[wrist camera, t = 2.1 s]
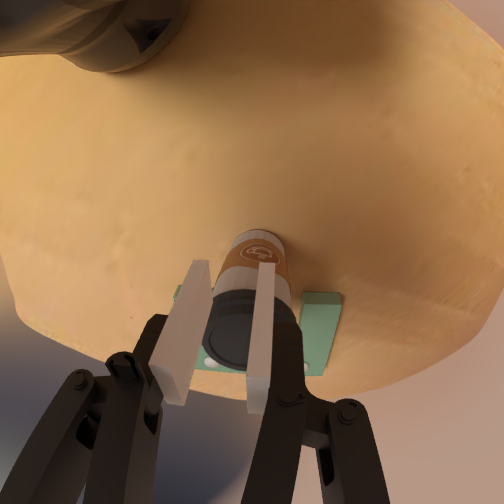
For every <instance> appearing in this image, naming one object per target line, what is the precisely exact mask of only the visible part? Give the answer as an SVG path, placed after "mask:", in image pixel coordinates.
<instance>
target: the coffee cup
mask: <svg viewBox="0 0 504 504" xmlns="http://www.w3.org/2000/svg"><path fill="white" fill-rule="evenodd" d="M260 262H263V263H275V286H274V313H273V322H282V323H296V317H295V316H294V314H293V311H292V303H291V290H290V283H289V276H288V269H287V263H286V260H285V253H284V247H283V245H282V243H281V242H280V240H279V239H278V238H277V237H276V236H274V235H273V234H271V233H269V232H266V231H263V230H252V231H248V232H245V233H243V234H241V235H240V236H239V237H237V239H236V240H235V241H234V243H233V245H232V247H231V250H230V252H229V254H228V255H227V257H226V259H225V262H224V264H223V266H222V268H221V271H220V273H219V275H218V278H217V280H216V283H215V287H214V290H213V292H212V298H213V304H212V307H211V311H210V314H209V318H208V321H207V325H206V328H205V332H204V335H203V339H202V346H203V348H204V350H205V352H206V353H207V354H208V355H209V356H210V358H212V359H213V360H214V361H216V362H217V363H219V364H221V365H223V366H225V367H227V368H230V369H234V370H237V371H245V372H247V364H248V356H249V348H250V340H251V331H252V323H253V315H254V306H255V298H256V289H257V281H258V272H259V263H260Z"/></svg>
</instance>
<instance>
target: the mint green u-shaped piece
mask: <svg viewBox="0 0 504 504" xmlns="http://www.w3.org/2000/svg"><path fill="white" fill-rule="evenodd" d="M180 288H181V286H178V288H177V290H176V292H175V295H174V302H175V300H176V297H177V295H178V293H179V291H180ZM211 289H212V292H213V290H214V288H211ZM341 307H342V302H341V298H340V294H339V293H330V292H303V295H302V303H301V310H300V318H299V325H298V326H299V327H300V329H301V331H302V334H303V352H304V373H305V376H323V372H324V369H325V366H326V363H327V359H328V356H329V352H330V349H331V345H332V342H333V338H334V335H335V331H336V327H337V323H338V319H339V316H340V312H341ZM194 369H200V370H209V371H218V372H229V373H241V374H246V373H247V372H245V371H237V370H234V369H230V368H227V367H225V366H223V365H221V364H219V363H217V362H216V361H214V360H213V359H212V358H210V356H209V355H208V354H207V353H206V352H205V350H204V348H203V346H202V342H201V346H200V350H199V353H198V357H197V360H196V364H195V368H194Z"/></svg>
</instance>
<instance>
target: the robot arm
mask: <svg viewBox="0 0 504 504" xmlns="http://www.w3.org/2000/svg"><path fill="white" fill-rule="evenodd" d="M189 6H190V0H0V57H5V56H16V55H35V54H58V55H60V56H62V57H64V58H65V59H67V60H69V61H70V62H72V63H74V64H75V65H76V66H78V67H80V68H82V69H84V70H88V71H92V72H120V71H124V70H128V69H131V68H134V67H136V66H138V65H140V64H142V63H144V62H146V61H147V60H149V59H151V58H152V57H153V56H155V55H156V54H157V53H159V52H160V51H161V50H162V49H163V48H164V47H165V46H166V45H167V44H168V43H169V42H170V41H171V40H172V39H173V37H174V36H175V35H176V33H177V32H178V31H179V29H180V27H181V26H182V24H183V22H184V20H185V18H186V15H187V13H188V10H189ZM274 286H275V263H263V262H260V263H259V272H258V281H257V289H256V298H255V306H254V315H253V323H252V331H251V340H250V348H249V356H248V364H247V373H246V386H247V408H248V414H264V416H263V420H262V424H261V428H260V432H259V436H258V440H257V444H256V448H255V452H254V456H253V460H252V464H251V468H250V471H249V475H248V479H247V482H246V486H245V490H244V493H243V497H242V500H241V504H291V502H292V496H293V491H294V486H295V481H296V475H297V470H298V464H299V458H300V452H301V446H302V445H305V446H308V447H312V448H315V449H316V456H317V463H318V469H319V476H320V483H321V490H322V498H323V504H390V501H389V496H388V492H387V487H386V483H385V478H384V474H383V470H382V466H381V462H380V458H379V454H378V450H377V446H376V443H375V439H374V435H373V431H372V428H371V424H370V421H369V417H368V413H367V411H366V409H365V407H364V405H362V404H361V403H360V402H359V401H357V400H354V399H341V400H339V401H337V402H335V403H333V402H329V401H325V400H322V399H319V398H317V397H315V396H314V395H312V394H311V393H310V392H309V391H308V389H307V387H306V385H305V373H304V352H303V334H302V331H301V329H300V327H299V326H298V324H297V323H282V322H273V313H274ZM212 304H213V298H212V289H211V280H210V271H209V261H208V260H193V262H192V264H191V267H190V269H189V271H188V273H187V275H186V277H185V280H184V282H183V284H182V286H181V288H180V291H179V293H178V295H177V297H176V300H175V302H174V304H173V306H172V309H171V311H170V313H169V315H162V314H155V315H154V316H153V317H152V318H151V319H149V320H148V321H147V324H146V326H145V328H144V330H143V332H142V334H141V336H140V339H139V340H138V342H137V344H136V346H135V349H134V351H133V353H130V352H126V351H124V352H118V353H115V354H113V355H112V356H110V357H109V358H108V359H107V361H106V363H105V365H106V367H107V368H108V370H109V372H110V373H111V376H98V377H94V376H93V374H92V373H91V372H90V371H88V370H85V369H79V370H76V371H74V372H72V373H71V374H70V375H69V376H68V377H67V379H66V380H65V382H64V383H63V385H62V386H61V388H60V389H59V391H58V392H57V394H56V395H55V397H54V398H53V400H52V402H51V403H50V405H49V406H48V408H47V409H46V411H45V413H44V414H43V416H42V418H41V419H40V421H39V422H38V424H37V426H36V427H35V429H34V431H33V433H32V434H31V436H30V437H29V439H28V441H27V443H26V444H25V446H24V448H23V450H22V452H21V453H20V455H19V457H18V459H17V461H16V463H15V465H14V466H13V468H12V470H11V472H10V474H9V476H8V478H7V480H6V482H5V484H4V486H3V488H2V490H1V492H0V504H76V502H77V500H78V498H79V496H80V494H81V491H82V489H83V487H84V485H85V483H86V488H85V493H84V499H83V504H152V499H153V489H154V479H155V469H156V461H157V452H158V444H159V436H160V429H161V422H162V415H163V410H162V407H161V402H162V399H163V397H164V399H165V401H166V402H167V403H170V404H175V405H181V406H184V405H185V401H186V397H187V393H188V390H189V386H190V382H191V379H192V375H193V371H194V368H195V364H196V360H197V357H198V353H199V350H200V346H201V342H202V339H203V335H204V332H205V328H206V325H207V321H208V318H209V314H210V311H211V307H212ZM86 481H87V482H86Z"/></svg>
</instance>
